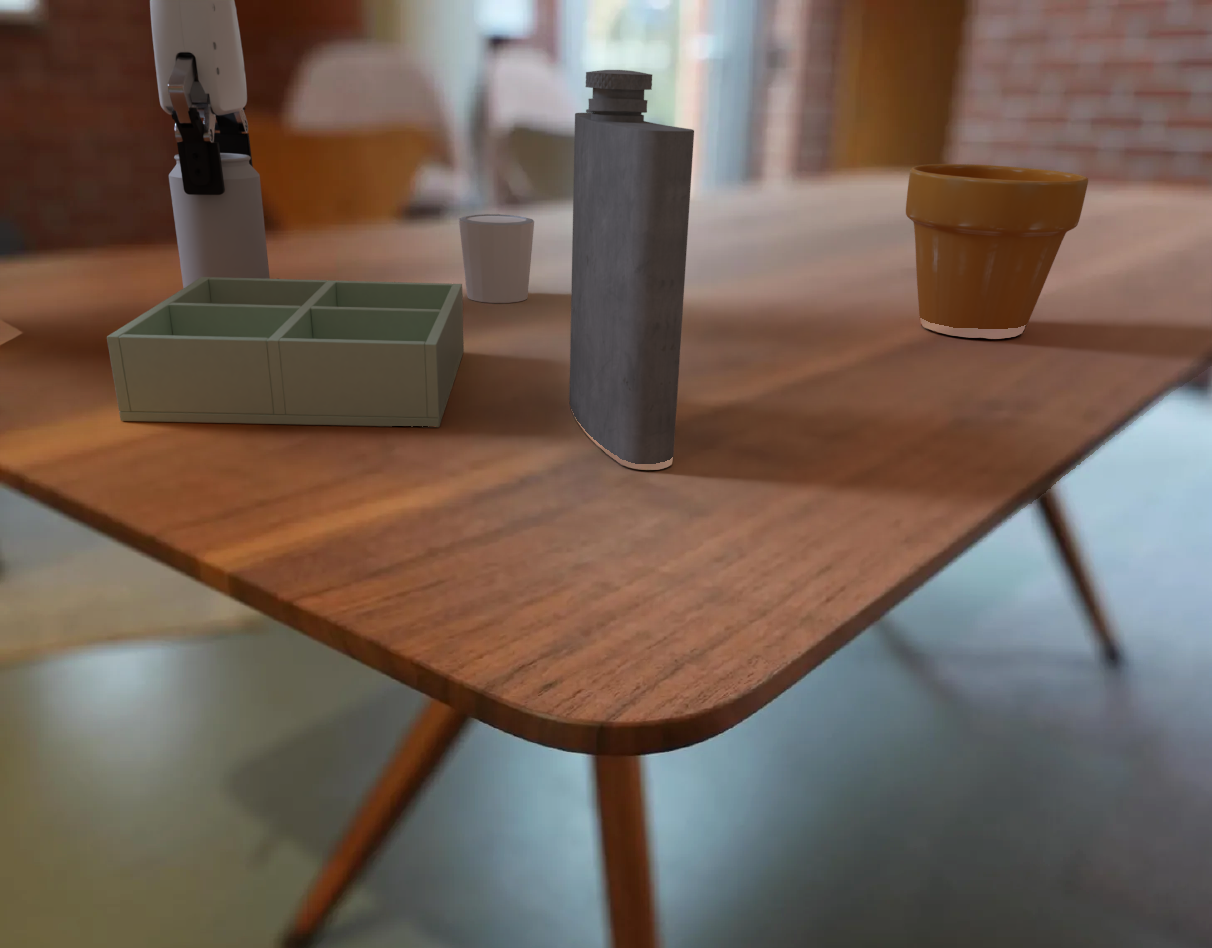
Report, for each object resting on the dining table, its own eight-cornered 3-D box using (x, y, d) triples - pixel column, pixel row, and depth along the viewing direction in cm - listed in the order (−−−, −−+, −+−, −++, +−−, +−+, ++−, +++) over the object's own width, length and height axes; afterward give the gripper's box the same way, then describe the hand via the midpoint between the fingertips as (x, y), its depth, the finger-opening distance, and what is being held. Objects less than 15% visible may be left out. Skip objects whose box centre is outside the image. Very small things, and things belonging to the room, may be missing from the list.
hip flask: (680, 469, 62) (706, 75, 54) (609, 473, 62) (625, 72, 53) (610, 392, 76) (622, 68, 67) (552, 394, 75) (556, 65, 66)
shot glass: (520, 288, 108) (520, 212, 105) (544, 302, 103) (544, 222, 100) (451, 291, 106) (449, 214, 103) (472, 306, 100) (470, 224, 97)
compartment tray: (120, 421, 67) (106, 336, 65) (209, 346, 84) (201, 276, 82) (439, 427, 68) (436, 344, 66) (463, 352, 85) (462, 283, 83)
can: (207, 308, 96) (188, 158, 90) (170, 294, 101) (150, 151, 95) (286, 299, 100) (273, 155, 95) (248, 285, 105) (233, 148, 100)
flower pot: (955, 353, 90) (985, 181, 84) (856, 316, 102) (877, 163, 96) (1091, 343, 95) (1128, 180, 89) (982, 309, 106) (1008, 163, 101)
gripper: (176, -36, 96) (205, 176, 104) (103, -50, 81) (143, 199, 89) (264, -34, 97) (286, 177, 104) (208, -48, 81) (239, 200, 89)
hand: (221, 187), depth 96 cm, fingers open, 9 cm apart
